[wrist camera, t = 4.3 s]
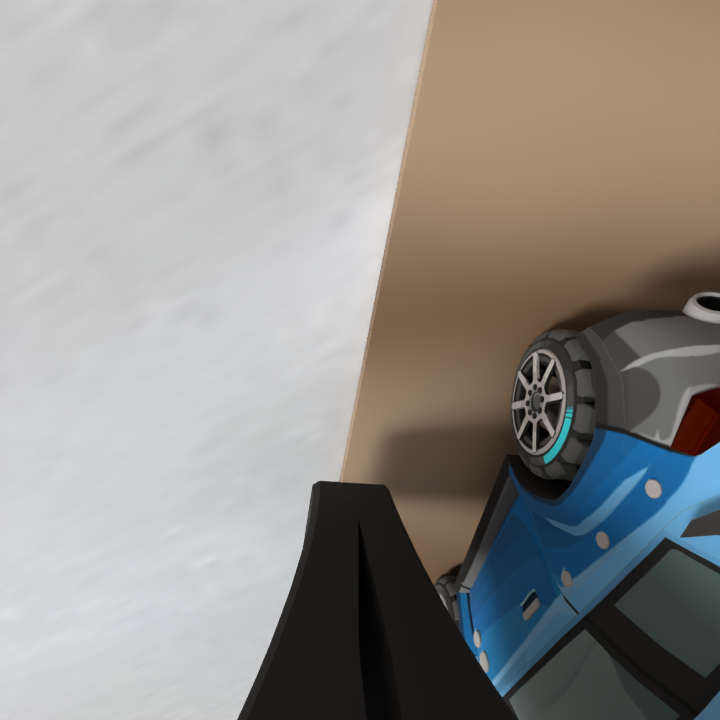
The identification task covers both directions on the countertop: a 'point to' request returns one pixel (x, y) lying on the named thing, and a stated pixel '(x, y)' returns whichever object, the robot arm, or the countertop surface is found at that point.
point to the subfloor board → (528, 228)
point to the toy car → (605, 526)
